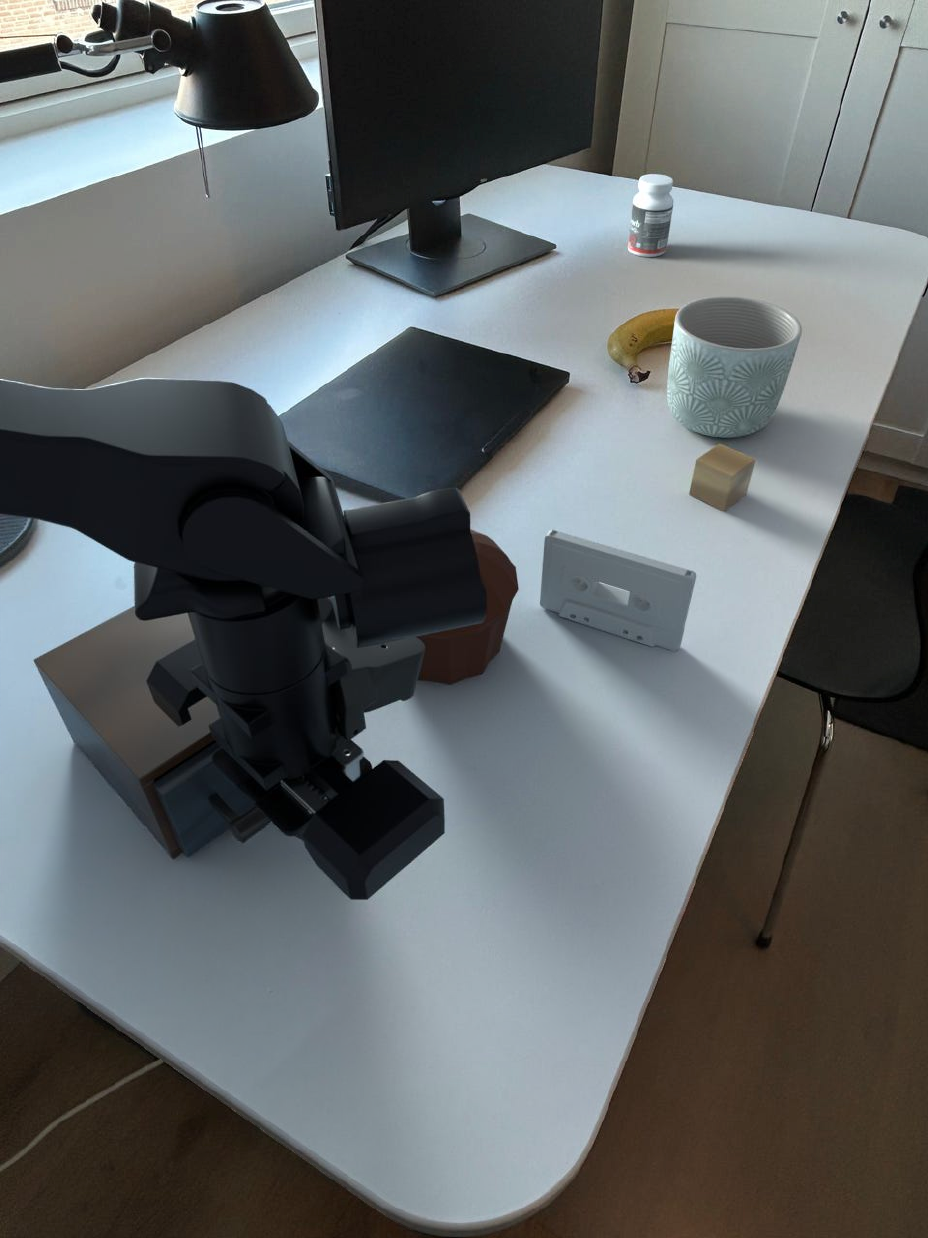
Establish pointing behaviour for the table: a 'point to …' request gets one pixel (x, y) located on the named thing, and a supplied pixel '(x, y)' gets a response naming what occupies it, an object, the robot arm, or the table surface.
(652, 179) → the pill bottle
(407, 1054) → the table surface
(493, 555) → the muffin
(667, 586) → the cassette
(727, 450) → the oak block
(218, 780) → the drawer
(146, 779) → the cabinet
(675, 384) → the planter
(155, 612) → the robot arm
